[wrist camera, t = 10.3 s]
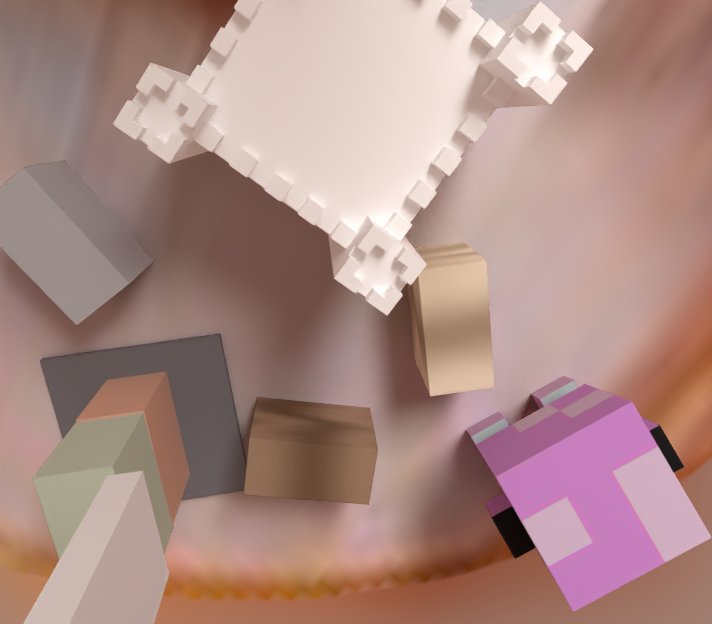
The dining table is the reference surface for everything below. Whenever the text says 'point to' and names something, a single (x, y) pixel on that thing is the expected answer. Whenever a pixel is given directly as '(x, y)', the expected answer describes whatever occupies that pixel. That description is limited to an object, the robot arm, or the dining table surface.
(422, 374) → the maple brick
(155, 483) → the sage brick
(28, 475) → the dining table surface
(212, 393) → the felt mat
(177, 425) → the terracotta brick
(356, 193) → the castle model
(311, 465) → the walnut brick
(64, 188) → the grey brick
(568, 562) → the toy
